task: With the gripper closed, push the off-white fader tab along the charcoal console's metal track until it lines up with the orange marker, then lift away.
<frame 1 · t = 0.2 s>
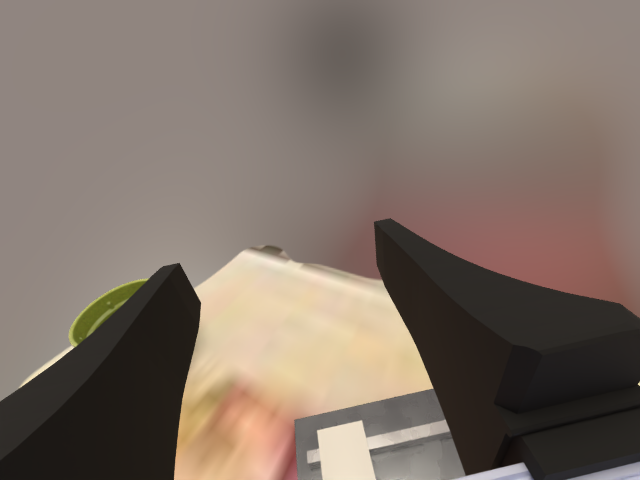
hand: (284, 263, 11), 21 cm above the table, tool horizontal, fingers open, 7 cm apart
fader console: (466, 479, 22), on the table
plant pot: (160, 361, 36), on the table
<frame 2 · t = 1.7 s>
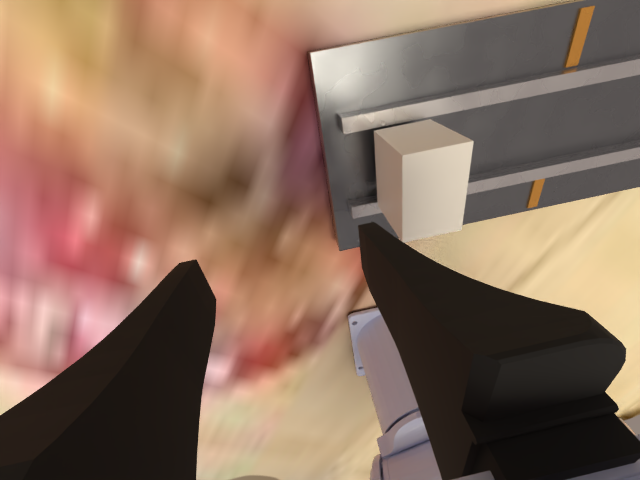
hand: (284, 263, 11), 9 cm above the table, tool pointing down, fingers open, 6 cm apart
fader console: (506, 124, 20), on the table
fader tab: (412, 175, 16), point 4 cm above the table, slide at 0.0 cm
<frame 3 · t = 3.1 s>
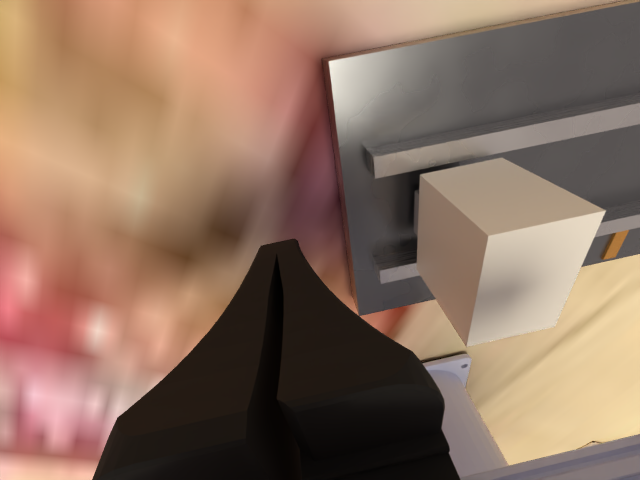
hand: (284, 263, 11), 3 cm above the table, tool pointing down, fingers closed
fader console: (584, 155, 15), on the table
fader tab: (475, 239, 11), point 4 cm above the table, slide at 0.0 cm
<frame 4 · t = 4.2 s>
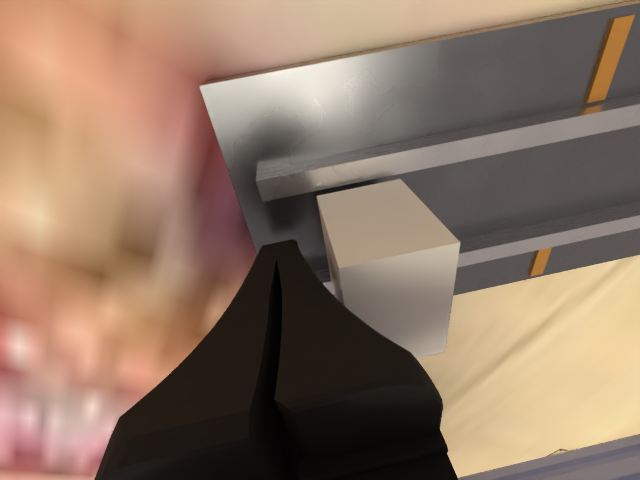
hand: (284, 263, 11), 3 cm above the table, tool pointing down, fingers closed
fader console: (502, 172, 14), on the table
fader tab: (373, 261, 11), point 4 cm above the table, slide at 0.4 cm, touching gripper
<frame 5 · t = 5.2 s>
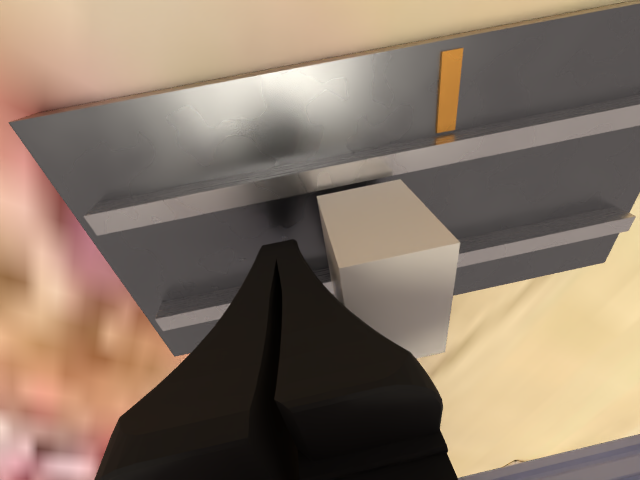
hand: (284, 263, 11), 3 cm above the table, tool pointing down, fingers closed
fader console: (382, 197, 14), on the table
fader tab: (373, 261, 11), point 4 cm above the table, slide at 6.3 cm, touching gripper
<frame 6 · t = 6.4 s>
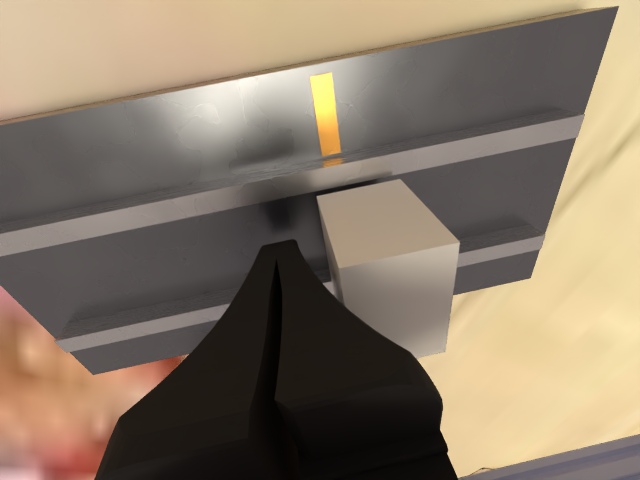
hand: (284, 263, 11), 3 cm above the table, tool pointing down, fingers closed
fader console: (292, 216, 14), on the table
fader tab: (373, 261, 11), point 4 cm above the table, slide at 10.6 cm, touching gripper
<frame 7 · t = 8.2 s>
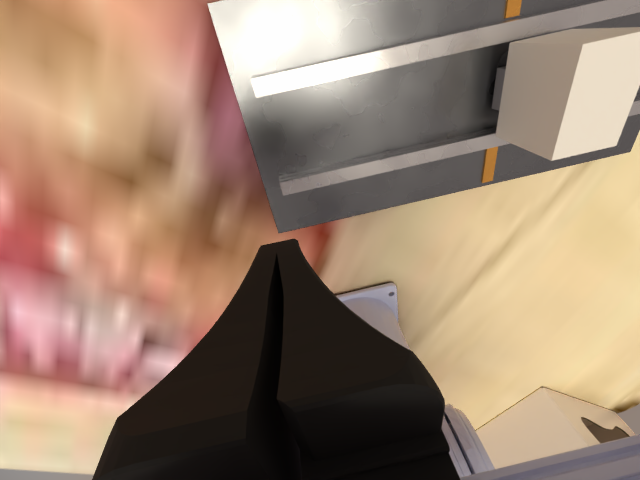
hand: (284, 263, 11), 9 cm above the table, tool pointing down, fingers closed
fader console: (451, 90, 18), on the table
fader tab: (552, 91, 14), point 4 cm above the table, slide at 10.7 cm
gable box: (543, 420, 48), on the table
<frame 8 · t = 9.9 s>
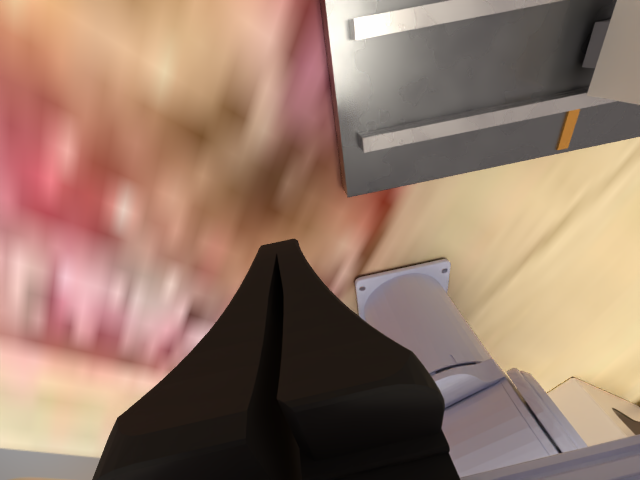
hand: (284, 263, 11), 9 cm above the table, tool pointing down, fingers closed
fader console: (536, 49, 17), on the table
gable box: (567, 412, 48), on the table
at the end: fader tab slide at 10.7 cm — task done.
